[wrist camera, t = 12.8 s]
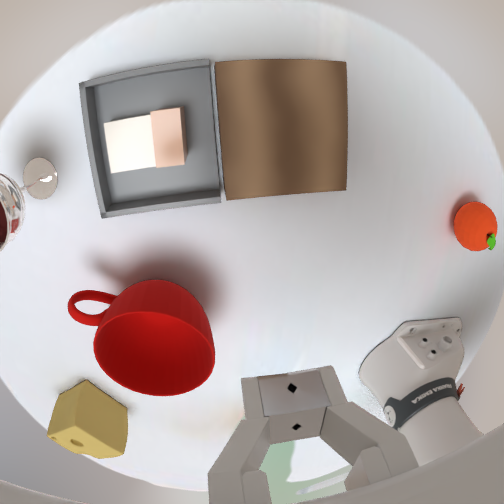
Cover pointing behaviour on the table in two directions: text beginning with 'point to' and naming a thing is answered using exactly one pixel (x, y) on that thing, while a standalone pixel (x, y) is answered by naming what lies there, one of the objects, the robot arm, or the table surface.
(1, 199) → the wineglass
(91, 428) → the cheese
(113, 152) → the tile
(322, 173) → the walnut block
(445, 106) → the table surface
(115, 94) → the tray
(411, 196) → the table surface
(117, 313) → the ceramic cup
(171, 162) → the tile
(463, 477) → the robot arm
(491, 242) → the clementine
